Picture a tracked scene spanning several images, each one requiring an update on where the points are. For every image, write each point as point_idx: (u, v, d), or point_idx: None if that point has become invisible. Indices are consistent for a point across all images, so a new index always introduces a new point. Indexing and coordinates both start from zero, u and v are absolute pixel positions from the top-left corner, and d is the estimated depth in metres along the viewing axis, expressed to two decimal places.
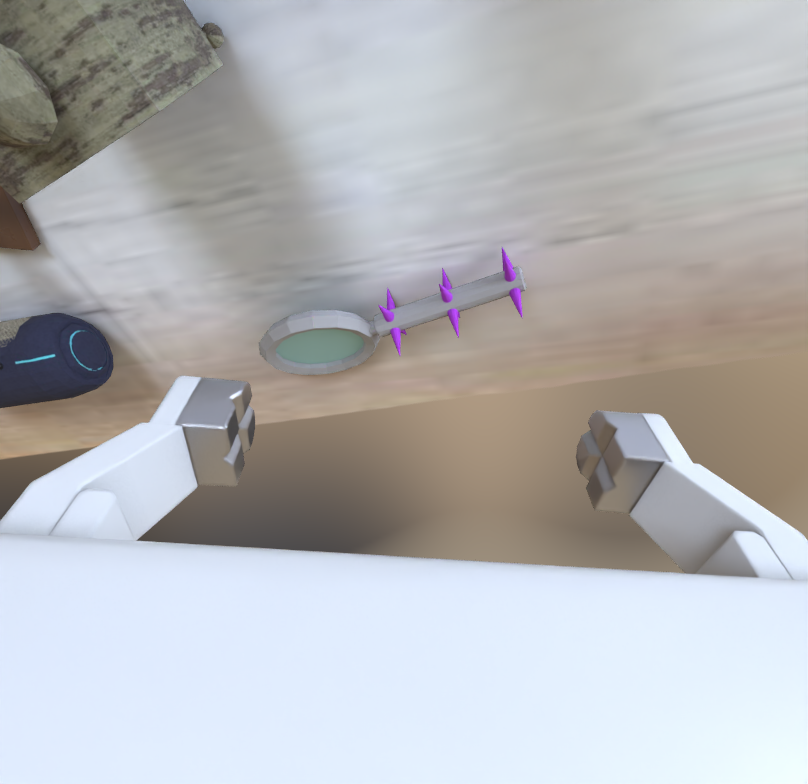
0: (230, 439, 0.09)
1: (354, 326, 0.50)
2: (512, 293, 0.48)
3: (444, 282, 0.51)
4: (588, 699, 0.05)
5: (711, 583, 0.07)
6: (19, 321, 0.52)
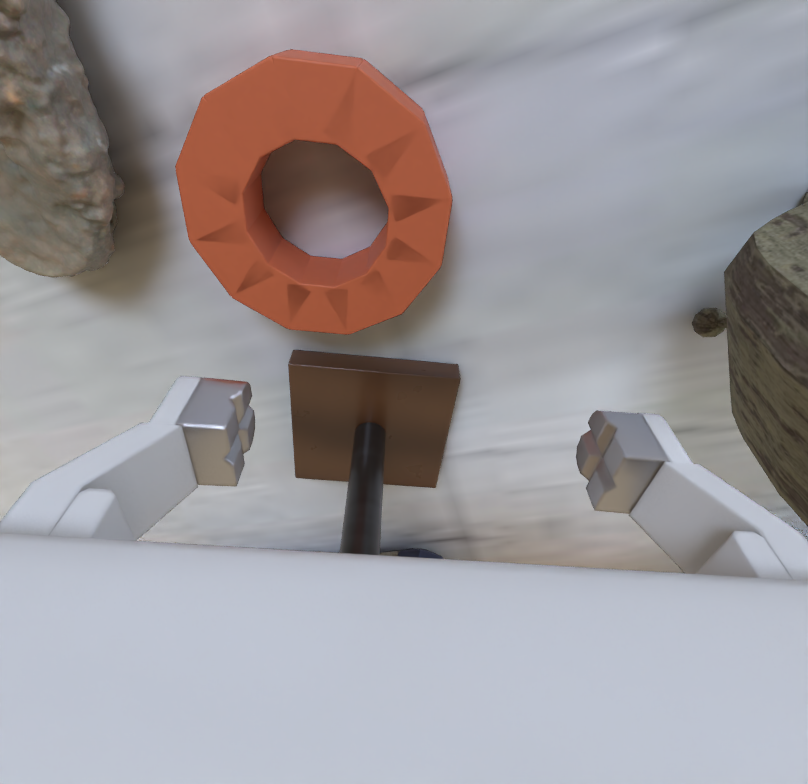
0: (230, 439, 0.09)
1: None
2: None
3: None
4: (588, 699, 0.05)
5: (711, 583, 0.07)
6: None
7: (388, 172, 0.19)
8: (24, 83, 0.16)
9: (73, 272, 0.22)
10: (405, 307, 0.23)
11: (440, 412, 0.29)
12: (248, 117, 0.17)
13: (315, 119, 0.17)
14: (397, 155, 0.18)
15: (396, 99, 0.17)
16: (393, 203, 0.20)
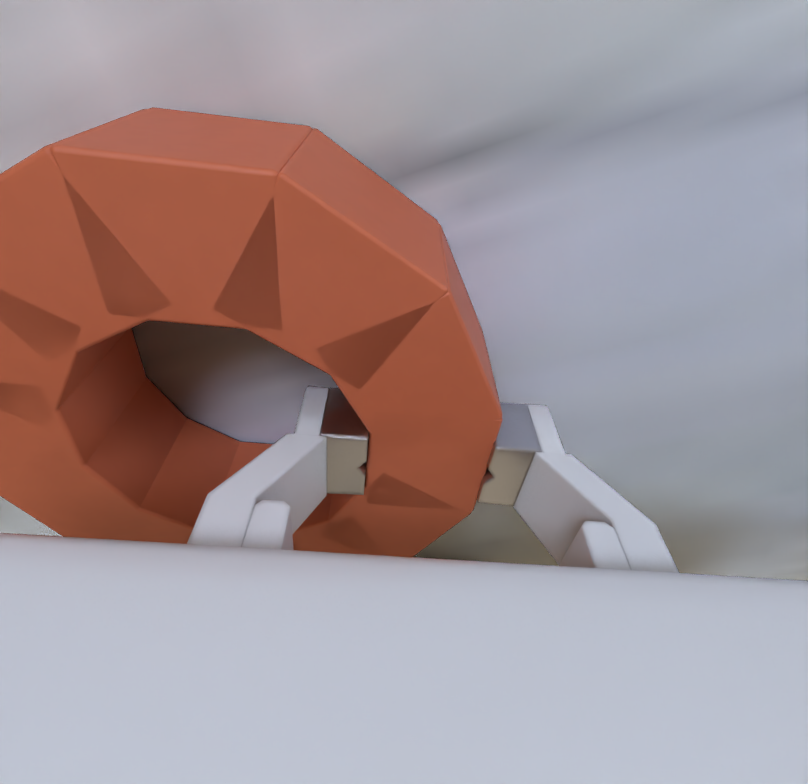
0: (367, 449, 0.10)
1: None
2: None
3: None
4: (588, 699, 0.05)
5: (711, 583, 0.07)
6: None
7: (367, 377, 0.09)
8: None
9: None
10: None
11: None
12: (27, 279, 0.07)
13: (188, 284, 0.07)
14: (386, 349, 0.08)
15: (382, 243, 0.07)
16: (379, 425, 0.09)
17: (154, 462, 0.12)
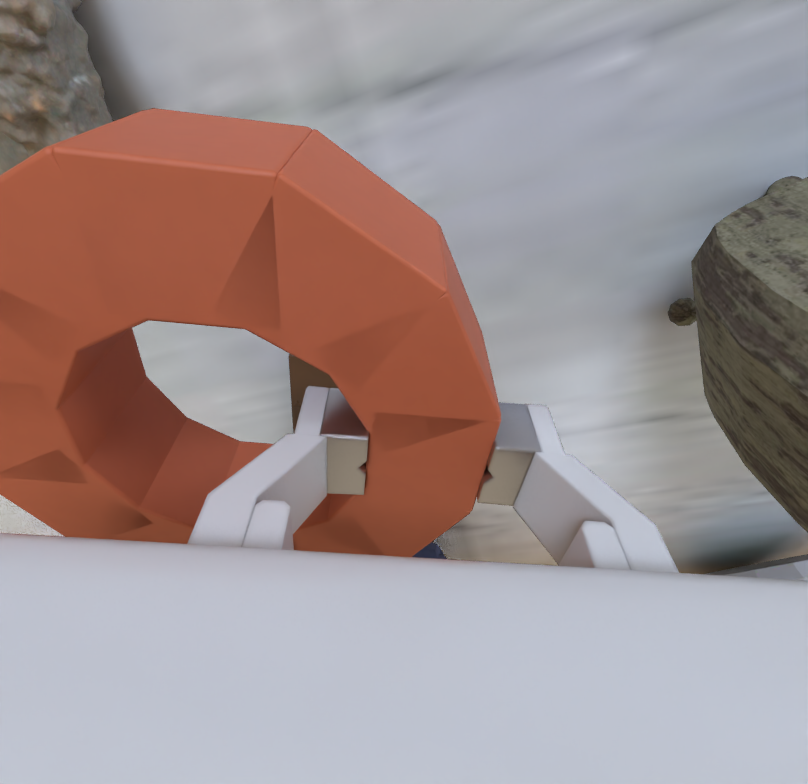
0: (367, 449, 0.10)
1: None
2: None
3: None
4: (589, 699, 0.05)
5: (711, 583, 0.07)
6: None
7: (366, 378, 0.09)
8: (48, 93, 0.18)
9: None
10: None
11: None
12: (28, 279, 0.07)
13: (188, 284, 0.07)
14: (384, 349, 0.08)
15: (380, 243, 0.07)
16: (377, 425, 0.09)
17: (154, 462, 0.12)
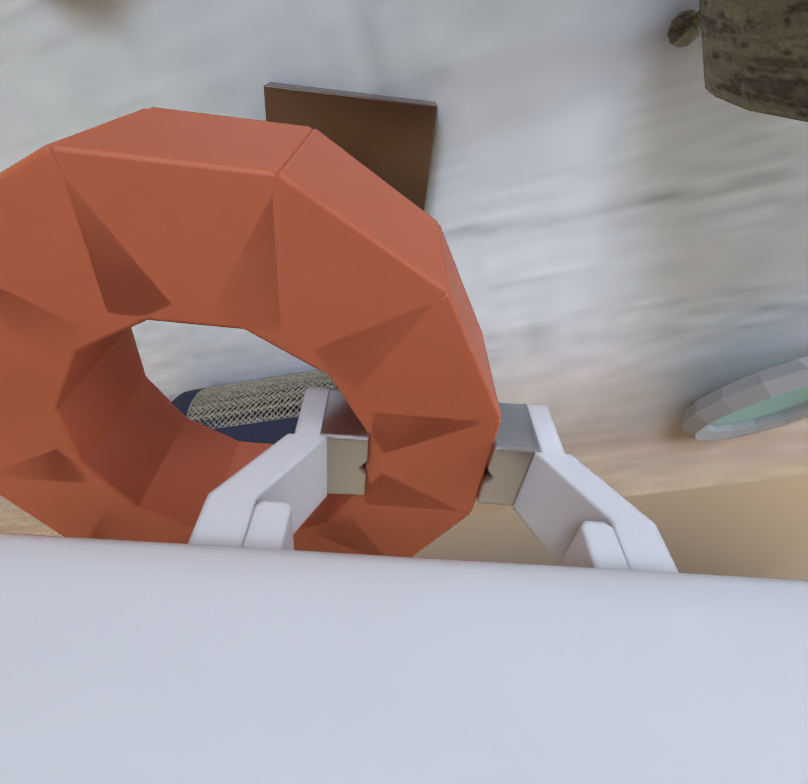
0: (367, 449, 0.10)
1: None
2: None
3: None
4: (588, 699, 0.05)
5: (711, 583, 0.07)
6: None
7: (365, 378, 0.09)
8: None
9: None
10: None
11: (418, 155, 0.29)
12: (27, 278, 0.07)
13: (187, 284, 0.07)
14: (384, 350, 0.08)
15: (381, 243, 0.07)
16: (377, 425, 0.09)
17: (153, 461, 0.12)
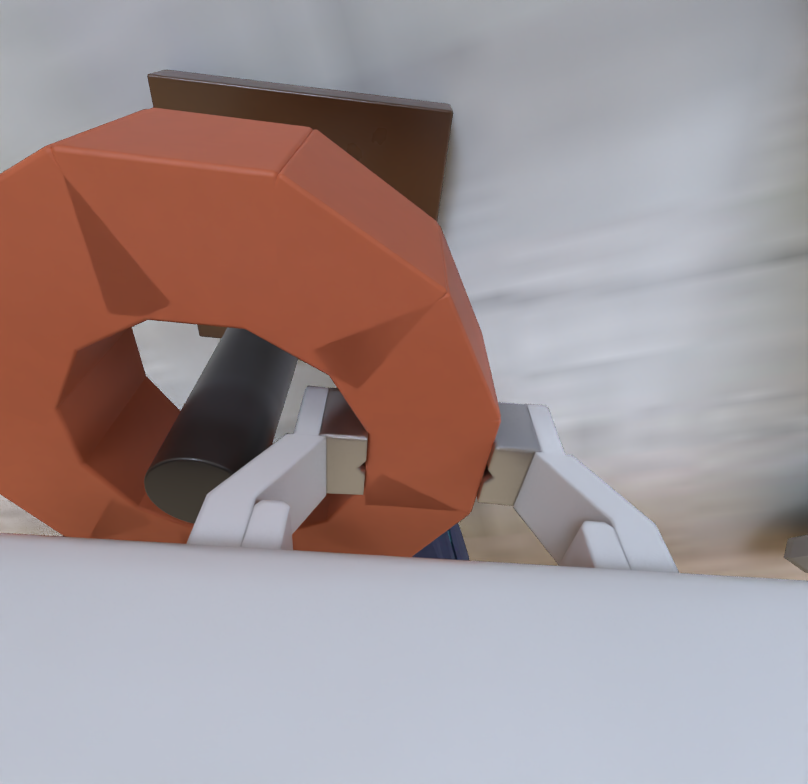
0: (366, 449, 0.10)
1: None
2: None
3: None
4: (589, 698, 0.05)
5: (711, 583, 0.07)
6: None
7: (366, 378, 0.09)
8: None
9: None
10: None
11: (419, 192, 0.17)
12: (27, 278, 0.07)
13: (188, 284, 0.07)
14: (384, 350, 0.08)
15: (381, 244, 0.07)
16: (377, 425, 0.09)
17: None
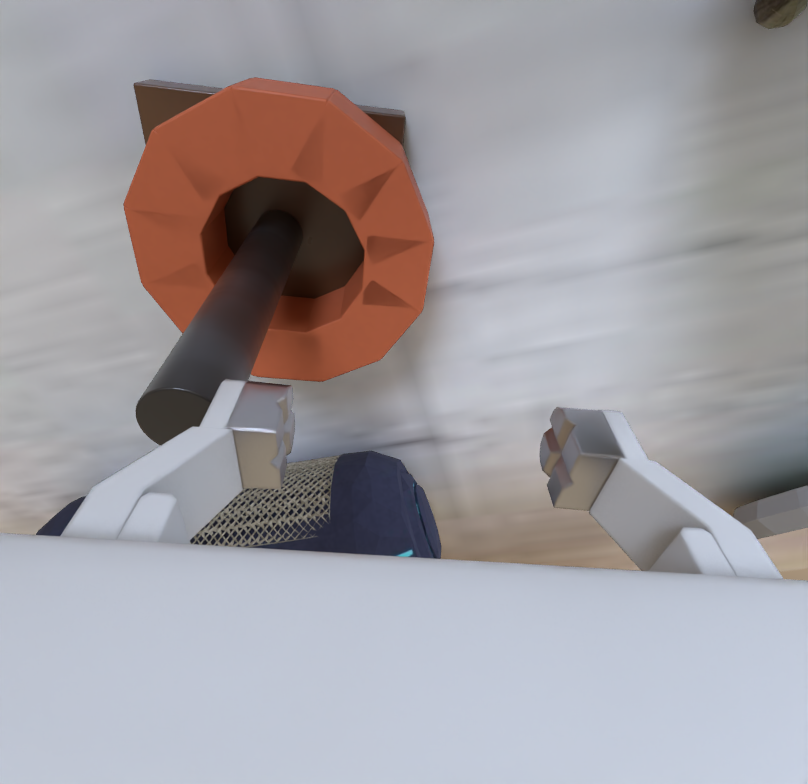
0: (278, 442, 0.09)
1: None
2: None
3: None
4: (588, 699, 0.05)
5: (711, 583, 0.07)
6: (315, 476, 0.26)
7: (363, 212, 0.17)
8: None
9: None
10: (384, 353, 0.21)
11: None
12: (205, 152, 0.16)
13: (281, 155, 0.16)
14: (373, 194, 0.17)
15: (371, 135, 0.16)
16: (369, 245, 0.18)
17: None
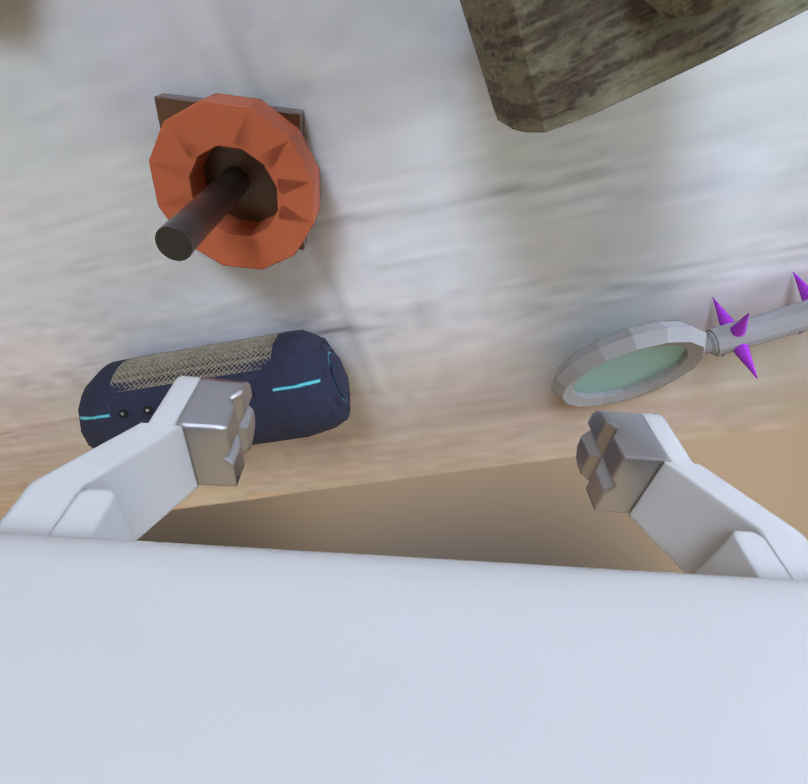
0: (230, 439, 0.09)
1: (702, 342, 0.40)
2: None
3: (805, 288, 0.41)
4: (589, 699, 0.05)
5: (711, 583, 0.07)
6: (265, 339, 0.42)
7: (273, 165, 0.32)
8: None
9: None
10: (295, 250, 0.36)
11: None
12: (190, 133, 0.31)
13: (228, 134, 0.31)
14: (277, 155, 0.32)
15: (272, 124, 0.31)
16: (279, 184, 0.33)
17: None
